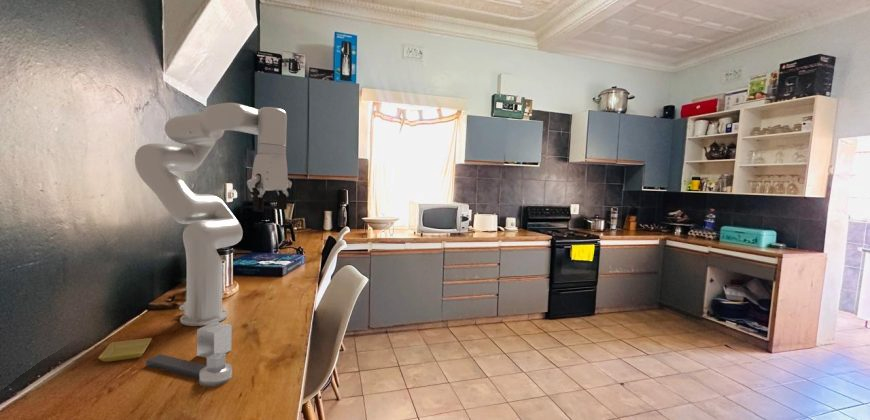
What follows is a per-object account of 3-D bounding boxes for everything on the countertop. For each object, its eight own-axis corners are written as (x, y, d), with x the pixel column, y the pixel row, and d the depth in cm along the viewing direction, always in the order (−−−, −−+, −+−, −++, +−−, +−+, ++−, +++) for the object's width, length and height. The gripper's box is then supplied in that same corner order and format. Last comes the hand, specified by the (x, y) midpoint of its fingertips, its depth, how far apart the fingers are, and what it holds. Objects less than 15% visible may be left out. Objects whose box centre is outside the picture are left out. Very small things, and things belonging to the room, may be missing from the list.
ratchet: (139, 369, 84) (139, 347, 83) (165, 357, 90) (166, 336, 89) (215, 389, 78) (215, 365, 78) (238, 374, 84) (238, 352, 84)
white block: (196, 355, 91) (197, 329, 91) (214, 346, 96) (215, 321, 96) (213, 359, 90) (214, 332, 89) (231, 350, 95) (231, 324, 94)
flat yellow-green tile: (143, 360, 88) (143, 352, 88) (97, 366, 85) (97, 357, 84) (152, 345, 96) (152, 337, 96) (111, 350, 92) (110, 342, 92)
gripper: (281, 153, 113) (279, 207, 114) (237, 148, 96) (236, 211, 98) (301, 154, 111) (299, 209, 112) (261, 149, 94) (259, 213, 96)
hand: (270, 210), depth 105 cm, fingers open, 9 cm apart
